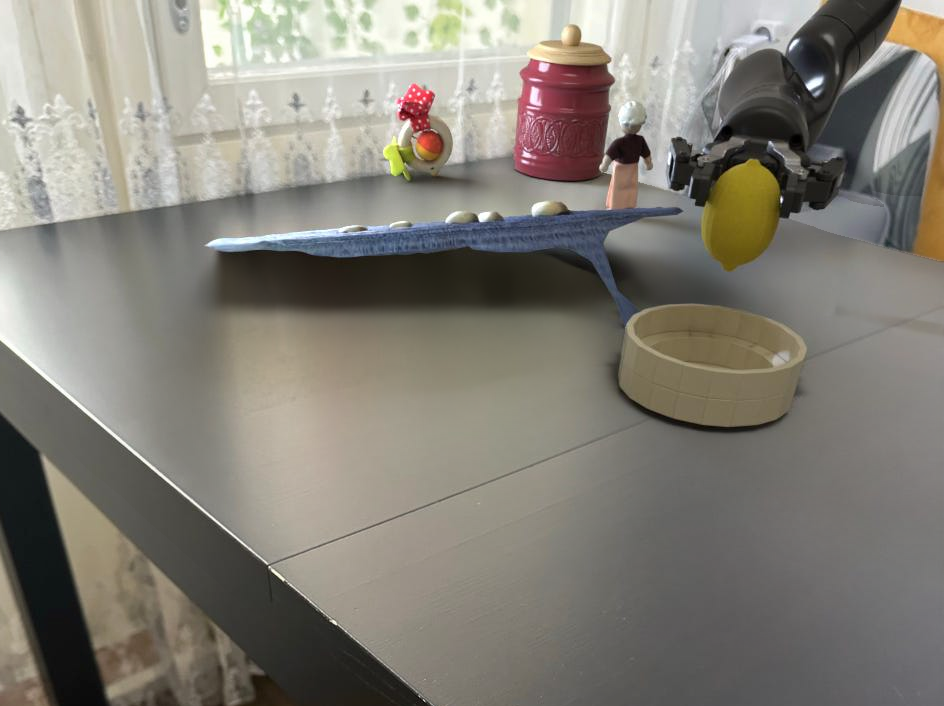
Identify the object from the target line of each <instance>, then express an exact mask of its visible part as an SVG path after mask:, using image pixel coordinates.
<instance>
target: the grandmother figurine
mask: <svg viewBox="0 0 944 706" xmlns="http://www.w3.org/2000/svg"><path fill="white" fill-rule="evenodd" d="M618 118H619V119H618V121H619V126H620V130H621V131H622V132H623V134H624V135H623V136H621V137H618V138H615V139H614V140H613V141H612V142H611V144H610V145H609V147H608V148H607V150H606V151H605V152H604V153H605V157H604V159H603V163H602V164H601V165H600V171H601V173H607V172H608V170H609V167H610V165H611V164H612V162H614V163H613V171H612V174H611V180H610V184H609V187H608V192H607V196H606V203H605V206H606V207H607V208H606V209H605V210H611V209H615V210H616V209H617V210H620V209H621V210H622V209H632V208H633V209H634V208H637V203H638V201H637V200H638V194H639V163H640V159H641V158H642V162H643V163H644V169H645V170H646V171H651V170H653V168H654V163H653V162H652V161H653V158H652V152H651V149H650V147H649V145H648V143H647V141H646V139H645V137H644V135H641V134H638V133H639V132H640V131H641V129H642V127H643V125H644V124H646V120H647V119H648V115H647V112H646V108H645V107H644V104H643V103H642V102H640V101H636V100H631V101H628V102H626V103H625V104H623V105H622V106H621V108H620V109H619V112H618Z"/></svg>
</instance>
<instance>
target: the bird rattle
mask: <svg viewBox="0 0 944 706" xmlns="http://www.w3.org/2000/svg"><path fill="white" fill-rule="evenodd" d="M435 98H436V93H434V92H433V91H432V90H429V89H422V88H421V87H420V86H418V85H417V84H416V83H414V82H413V83H412V84H410V85H409V87H408V89H407V91H406V93H405V95H404V96H401V97H398V98H397V100H396V106H397V108H398V111H397V119H398V120H400V121H402V122H405V121H406V122H405V123H404V125H403V126H402V128H401V130H400V133H399V136H398V142H397V136H396V135H394V136H393V138H392V142H391V144H388V145H386V147H384V149H383V156H384V158H385V159H386V160H388V161H389V164H390V172H391V175H392V176H393V177H399V176H400V175H401V174H402V173H403V175H404V177H405V178H406V180H407V181H410V180H411V175H410V173H409V171H408V168H407V167H409V168H410V169H412V170H414V171H416V172H418V173H422V174H429V175H430V176H432V177H437V176H438V175H439V171H440V170H441V169H442V168H443V167H445V165H446V164H447V162H448V160H449V159H450V157H451V155H452V153H453V148H454V147H453V146H454V142H453V134H452V131H451V130H450V129H451V128H449V126H448V124H447V123H446V122H445V121H444V120H443V119H442V118H440V117H439V116H437V115H434V114H433V113H432V114H431V113H430V111H431V108H432V106H433V103H434V101H435ZM419 132H420V133H419ZM417 133H419V134H418V136H417V137H416V136H414V135H415V134H417ZM412 139H415V145H414V147H415V151H416V152H415V151H414V148H413V143H412ZM415 153H417V155H418V156H419V157H418V156H416V154H415ZM406 165H407V167H406Z"/></svg>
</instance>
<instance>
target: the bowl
mask: <svg viewBox="0 0 944 706" xmlns="http://www.w3.org/2000/svg"><path fill="white" fill-rule="evenodd" d="M640 311H641V312H638V313H636V314H634V315H633V316H632V317H631V318H630V320H629V321H628V322H627V324H626V328H625V327H624V335H623V340H622V347H621V353H620V359H619V364H618V365H619V366H618V372H617V378H618V384H619V385H618V386H619V387H620V389H621V390H622V391H623V392H624V393H625V395H626V396H627V397H628V398H629V399H631V400H632V401H634V402H636V403H637V404H639V405H640V406H642V407H643V408H644V409H647V410H650V411H652V412H654V413H657V414H660V415H663V416H665V417H668V418H670V419H673V420H677V421H684V422H687V423H692V424H697V425H701V426H712V427H721V428H733V427H734V428H735V427H748V426H759V425H762V424H766V423H769V422H772V421H776V420H778V419H779V418H781V417H783V416H784V415H785V414H787V413H788V412H789V411H790V409H791V407H792V403H793V401H794V397H795V393H796V391H797V386H798V383H799V379H800V376H801V373H802V369H803V366H804V362H805V360H806V359H805V358H806V356H807V352H808V347H807V345H806V343H805V340H804V339H803V338H802V336H800V335H799V334H797V333H796V331H794V330H792V329H791V328H789V327H788V326H787V325H785V324H782V323H780V322H778V321H776V320H774V319H771V318H769V317H767V316H763V315H761V314H756V313H753V312H750V311H747V310H744V309H739V308H733V307H727V306H724V305H723V306H722V305H715V304H703V303H671V304H662V305H657V306H653V307H648V308H645V309H643V310H640Z"/></svg>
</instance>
